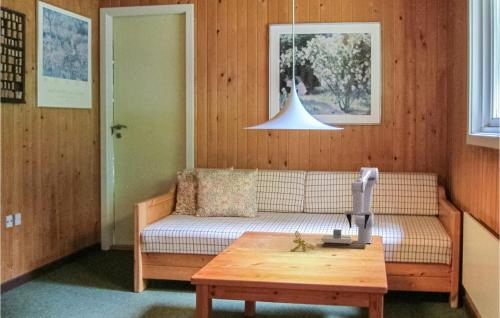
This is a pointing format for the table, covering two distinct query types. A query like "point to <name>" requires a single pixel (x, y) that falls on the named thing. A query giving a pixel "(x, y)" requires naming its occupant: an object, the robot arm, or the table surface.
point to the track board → (343, 245)
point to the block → (337, 233)
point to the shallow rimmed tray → (334, 240)
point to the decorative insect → (300, 243)
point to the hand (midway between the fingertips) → (357, 228)
